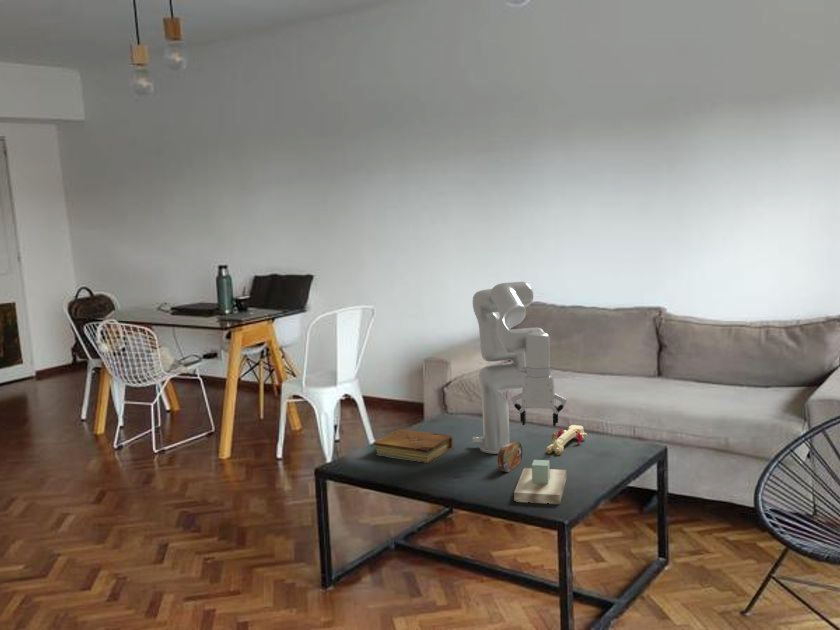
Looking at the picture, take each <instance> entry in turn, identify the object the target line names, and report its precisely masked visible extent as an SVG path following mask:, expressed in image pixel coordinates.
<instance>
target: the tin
mask: <svg viewBox="0 0 840 630" xmlns="http://www.w3.org/2000/svg"><path fill="white" fill-rule="evenodd" d="M522 459H523V447H522V443H521V442H520V441H510V442H509V443H508V444H507V445H505V446H504V447H502V448H501V449H500V450H499V453H498V454H497V465H498V470H499V471H501V472H505V473H510V472H511V471H513V470H514V469H515V468H516V467H518V466H519V465H520V464H521V462H522ZM512 469H513V470H512Z"/></svg>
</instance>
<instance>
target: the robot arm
mask: <svg viewBox="0 0 840 630" xmlns="http://www.w3.org/2000/svg"><path fill="white" fill-rule="evenodd" d="M533 300H534V291H533V288H532V286H531V285H530V284H529V283H528V282H525V281H511V282H501V283H498V284H496V285H494V286H493V287H492V288H489V289H482V290H479V291H476V292H475V293H474V294H473V297H472V309H473V312H474V316H475V318H476V319H477V320H476V321H477V323H478V328H479V329H478V330H479V333H478V334H479V341H480V343H479V344H480V353H481V357H482V359H483V360H484V361H485V362H489V363H490V362H491V363H492V362H503V361H510V363H503V364H502V363H500V364H493V365H492V364H491V365H488V366H487V365H486V366H484V367H482V368H481V369H480V371H479V373H478V380H479V387H480V392H481V393H480V394H481V402H482V403H481V405H482V428H483V430H482V431H483V436H480V437H479V436H472V441H471V442H472V443H474V444H475V445H476V444H478V445H479V444H480V445H479V450H480V452H483V453H486V454H491V455H492V454H493V455H498V453H499V450H500V449H501V448H502V447H504V446H505V445H507V444H508V443H509V442H511V441H510V418H509V417H510V413H509V401H508V399H507V398H506V397H505V395H503V393H502V392H503V391H511V390H519V389H521V392H520V393H519V394H516V395H514V396H512V397H511V399H510V400H511V402H512V404H513V407H514V408H515V409H516V410H517V411H518V412H519V415H520V421H519V422H521V423H522V426H525V425H526V423H527V417H526V415H527V411H526V409H535V410H536V409H538V410H549V409H551V411H552V412H553V413H552V426H553V427H556V425H557V424H558V423H559V413H560V412H561V411H562V410H563V409H564V407H565V405H566V403H567V401H568V399H567V398H565V397H563V396H562V395H559V394H557V393H556V391H555V390H556V389H555V381H554V376H553V375H552V374H551V346H550V345H551V338H550V335H549V334H548V333H546V332H545V331H544V330H543V329H542V328H540V327H526V328H514V327H516V326H517V325H519V324H521V322H523V321H524V320H525V318H526V315H527V309H526V308H527V307H529V306H530V305H531V304H532V303H533ZM497 313H498V314H499V316H498V314H497ZM512 328H513V329H512ZM520 399H521V404H520V403H519V401H518V400H520ZM556 400H557V401H559V402H560V404H559V405H556Z"/></svg>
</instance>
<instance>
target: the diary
mask: <svg viewBox="0 0 840 630" xmlns="http://www.w3.org/2000/svg"><path fill="white" fill-rule="evenodd" d="M453 442H454V441H453V436H452V435H449V434H441V433H435V432H434V433H433V432H426V431H425V432H424V431H419V430H411V429H402V428H399V429H396V430H394V431H392V432H390V433H388V434H386V435H384V436H383V437H382V438H380V439H377V440H375V441H374V442H373V445H374V446H375V447H376V448H375V449H376V453H377V454H384V455H390V456H395V457H401V458H405V459H412V460H416V461H420V462H426V463H429V462H430V463H432V462H433V461H432V460H434V459H435V460H437V459H438V458H439V456H440V455H441V456H443V455H444V453H445V452H446V453H447V451H448V452H449V451H451V450H453V447H454V443H453ZM450 449H451V450H450ZM446 453H445V454H446ZM442 454H443V455H442ZM441 456H440V457H441ZM437 457H438V458H437ZM436 458H437V459H436ZM435 460H434V461H435ZM431 461H432V462H431ZM426 463H425V464H426ZM430 463H429V464H430Z"/></svg>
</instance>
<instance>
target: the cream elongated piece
mask: <svg viewBox="0 0 840 630" xmlns="http://www.w3.org/2000/svg"><path fill="white" fill-rule="evenodd" d="M585 437H588V433H586V432H585V428H584V427H583V426H582V425H577V424H572V425H570V426H568V428H567V430H566V429H565V428H561V429H560V430H558V432H557V433H556V432H553V433H552V436H551V442H552V443H551V444H550V445H548V446H547V447H546V449H545V453H547V454H549V455H550V454H552V453H553V451H554V454H555V455H556V456H560V455H562V452H564V450H565V445H566V444H567V443H569V441H571V440H572V439H576V440H577V442H576V443H577V444H576V445H579V444H580V443H581V442H582V441H583V440H584V438H585ZM556 438H557V439H556Z"/></svg>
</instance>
